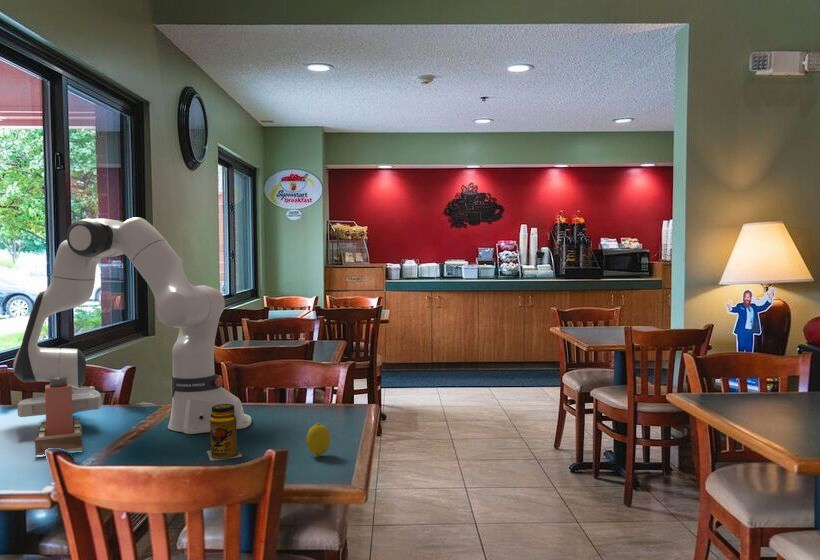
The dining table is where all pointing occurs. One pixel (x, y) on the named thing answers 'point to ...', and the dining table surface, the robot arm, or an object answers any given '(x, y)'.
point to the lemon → (318, 439)
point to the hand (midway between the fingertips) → (60, 410)
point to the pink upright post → (59, 407)
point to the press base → (59, 440)
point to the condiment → (223, 433)
